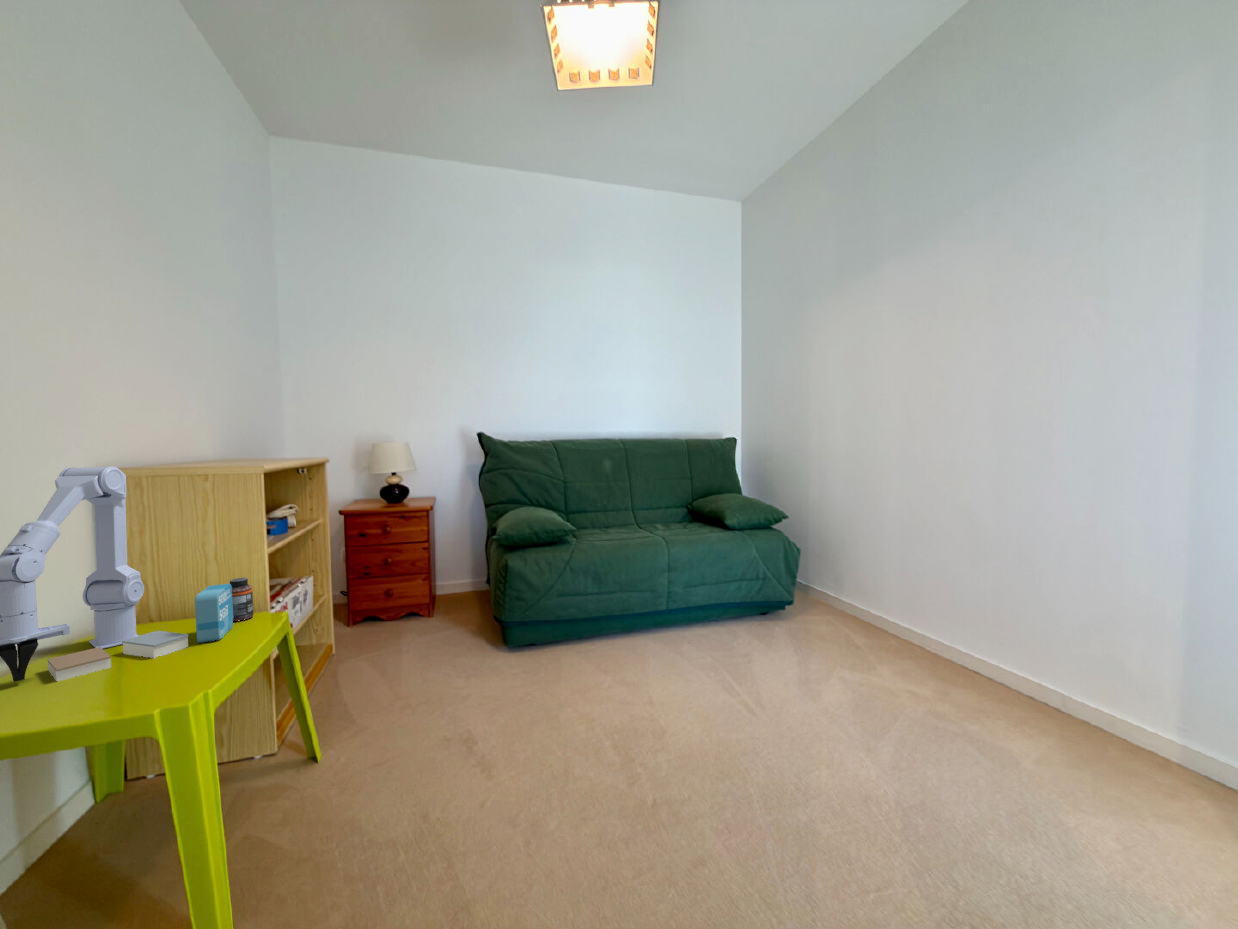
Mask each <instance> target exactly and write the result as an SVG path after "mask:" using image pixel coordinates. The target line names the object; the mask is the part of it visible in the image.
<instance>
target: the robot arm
mask: <svg viewBox="0 0 1238 929" xmlns="http://www.w3.org/2000/svg"><path fill="white" fill-rule="evenodd" d="M54 484H55V488H56V490H55V491H54V493H53V494H52V496H51V498H50V500H48V502H47V504H46V506H45V507H44V508H43V509H42V512H41V513H40V515H39V516H38V518H37V520H35V521H31V522H26V523H25V524H23V525H21V527H20V528H19V530H18V532H17V533H16V535H14V537H13V538H12V540H11V541H10V542H9V543H8V545H7V546H6V547H5V548H4V549H3V551H1V553H0V658H1V659H2V660H3V662H4V663H5V664H6V665H7V667H8V669H9V671H10V674H11V677H12V681H13V683H16V682H20V681H23V680H26V679H25V678H26V672H27V669H28V667H29V663H30V662H31V659H32V657H33V655H34V653H35V652H36V650H37V649H38V647H39V642H38V641H39V640H44V639H49V638H53V637H58V636H66V635H67V636H68V635H71V625H70V624H69V623H64V624H58V625H51V626H45V627H38V626H39V625H38V608H37V606H38V605H37V586H36V585H37V584H36V579H38V578H40V576H41V575H42V574H43V573H44V572H45V565H46V564H45V562H46V560H47V553H48V552H49V551H50V550H51V548H52V547H53V546H54V544H55V543H56V541H57V540H58V539H59V538H60V536H61V530H60V529H59V526H60V525H61V524H62V523H63V521H64V520H65V519H67V517H68V516H69V515H70V514H71V512H73V510H74V509H76V507H77V506H78V505H79V504H80V502H81V501H84V500H86V501H88V502H89V503H91V504H92V505H93V506H94V510H95V511H94V512H95V514H94V515H95V516H94V517H95V544H96V545H95V546H96V570H95V571H93V572H92V573H91V574H89V575H88V576H87V577H85V587H84V589H83V592H82V600H83V602H84V603H85V605H87V606H89V607H90V610H91V611H92V610H93V613H94V615H93V616H94V617H93V623H94V624H93V625H94V639H91V640H89V641H88V642H89V643H90V644H91V646H93V647H94V648H98V647H100V648H102V649H103V650H104V649H107V648H112V647H116V646H120V645H123V643H122V641H124V640H127V639H131V638H134V637H137V636H140V635H139V634H138V633H137V619H136V618H137V616H136V604H139V602H140V600H141V599H142V597H143V595H144V593H145V585H144V583H143V581H142V576H141V572H140V571H138V570H137V569H134V568H132V567H130V566H129V565H128V544H127V543H128V542H127V541H128V540H127V539H128V538H127V537H128V536H127V505H126V504H127V502H126V501H127V500H126V498H127V497H128V496H127V475H126V473H124V472H123V471H122V470H121V469H120V468H118V467H116V466H112V465H111V466H100V467H97V466H96V467H73V466H72V467H71V466H69V467H67V468H64V469H63V470H61V472H60V473H59V475H58V476H57V478H55V480H54Z"/></svg>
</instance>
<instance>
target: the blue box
mask: <svg viewBox="0 0 1238 929" xmlns="http://www.w3.org/2000/svg"><path fill="white" fill-rule="evenodd" d="M194 601H195V604H194V605H195V606H194V607H195V608H194V609H195V627H196V628H195V630H196V632H195V633H196V641H197V643H207V642H208V641H209V642H215V640H216V641H221V640H222V639H223V638H224V637H225V636H226V635H227V634H228V633H229V632H230V631H229V630H232V628H233V626H234V625H233V624H234V622H233V607H232V586H231V584H230V583H224V584H223V583H222V584H214V585H209V586H207V587H205V589H203V590H202V591H200V592H199V593H197V594H196V596H195V599H194ZM231 627H232V628H231ZM228 631H229V632H228ZM227 632H228V633H227ZM226 633H227V634H226ZM225 634H226V635H225ZM224 635H225V636H224ZM221 638H222V639H221ZM220 639H221V640H220Z"/></svg>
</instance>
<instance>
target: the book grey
mask: <svg viewBox="0 0 1238 929" xmlns="http://www.w3.org/2000/svg"><path fill="white" fill-rule="evenodd" d="M188 637H189V634H187V633H179V632H171V631H163V630H162V631H161V630H155V631H152V632H148V633H145V634H141V635H139V636H137V637H134V638H131V639H127V640H124V641H122V643H123V644H122V651H123V652H122V654H123V655H128V656H135V657H141V656H143V657H144V658H148V657H150V659H157V658H156V657H158V656H161V657H164V656H167V655H170V654H173V653H175V651H176V652H178V650H179V651H181V650H184V649H187V648H189V638H188ZM186 647H187V648H186ZM172 652H173V653H172ZM143 657H142V658H143ZM158 658H159V657H158Z"/></svg>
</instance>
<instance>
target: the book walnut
mask: <svg viewBox="0 0 1238 929" xmlns="http://www.w3.org/2000/svg"><path fill="white" fill-rule="evenodd" d="M110 668H112V656H111V654H109V653H107V651H105V650H104V649H102V648H100V647H98V648H95V647H94V648H90V649H86V650H82V651H81V650H80V651H76V652H72V653H69V654H64V655H59V656H55V657H51V658H48V659H47V671H48V670H49V672H50V673H51V674H50V673H49V672H48V673H49V674H50V676H51V677H52V676H53V677H54V678H53V677H52V678H53V680H54V681H55V682H56V681H58V682H61V681H65V680H68V679H72V678H76V677H75V676H77V677H81V676H84V675H88V673H89V674H92V673H96V672H99V670H100V671H103V670H102V669H104V670H107V669H110ZM95 671H96V672H95ZM91 672H92V673H91ZM80 675H81V676H80Z"/></svg>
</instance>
